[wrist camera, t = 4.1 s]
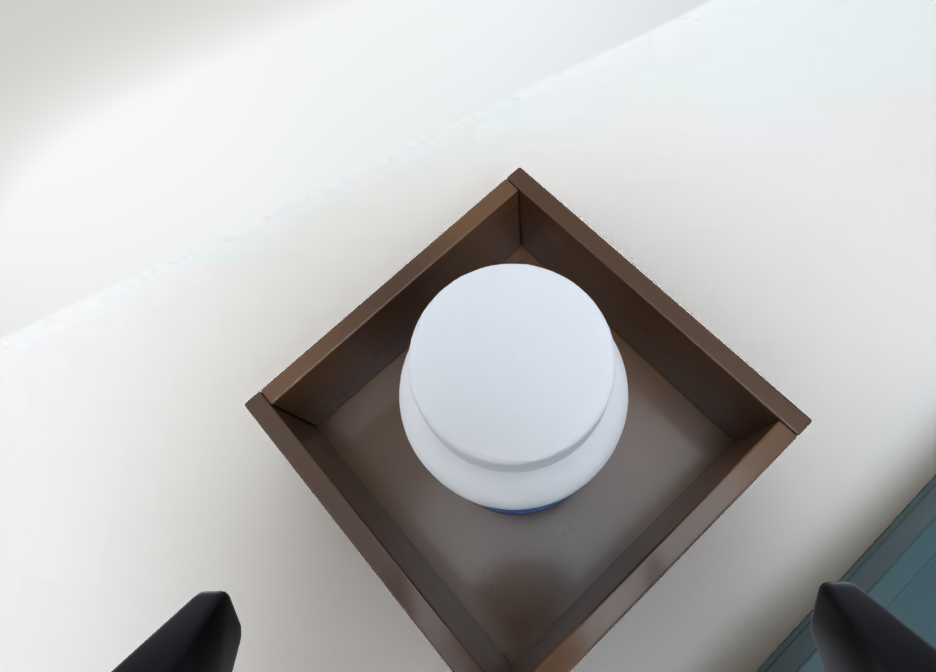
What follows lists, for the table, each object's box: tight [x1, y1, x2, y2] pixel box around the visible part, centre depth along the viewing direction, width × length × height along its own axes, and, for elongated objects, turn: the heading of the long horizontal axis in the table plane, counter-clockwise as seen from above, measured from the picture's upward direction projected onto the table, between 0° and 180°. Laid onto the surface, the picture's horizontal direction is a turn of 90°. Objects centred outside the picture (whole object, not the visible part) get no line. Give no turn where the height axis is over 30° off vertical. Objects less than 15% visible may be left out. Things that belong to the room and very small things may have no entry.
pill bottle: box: [399, 264, 628, 515], centre depth 16 cm, size 6×5×10 cm
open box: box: [245, 168, 812, 672], centre depth 19 cm, size 11×11×4 cm
